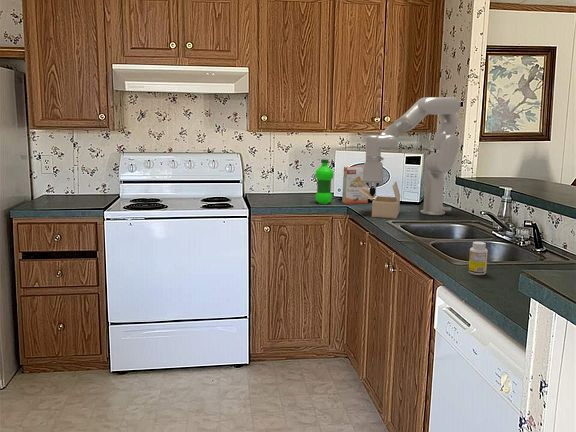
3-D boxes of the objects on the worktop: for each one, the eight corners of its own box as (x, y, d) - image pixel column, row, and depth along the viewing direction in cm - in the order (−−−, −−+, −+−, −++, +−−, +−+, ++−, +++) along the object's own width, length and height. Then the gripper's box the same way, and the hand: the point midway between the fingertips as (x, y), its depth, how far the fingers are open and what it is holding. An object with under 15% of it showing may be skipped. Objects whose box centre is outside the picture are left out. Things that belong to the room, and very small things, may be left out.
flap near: (399, 196, 306) (400, 196, 306) (396, 201, 289) (397, 201, 289) (395, 181, 306) (396, 181, 306) (392, 185, 288) (393, 185, 288)
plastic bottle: (311, 202, 338) (313, 158, 334) (329, 201, 341) (330, 158, 337) (317, 204, 329) (318, 160, 324) (335, 204, 332) (336, 160, 327)
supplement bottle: (474, 270, 195) (476, 240, 194) (489, 273, 191) (491, 243, 189) (464, 272, 192) (466, 242, 190) (479, 276, 188) (482, 245, 186)
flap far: (372, 199, 292) (371, 200, 292) (376, 194, 309) (375, 195, 309) (358, 190, 293) (358, 191, 293) (363, 186, 310) (363, 187, 310)
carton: (399, 212, 309) (400, 197, 308) (395, 219, 289) (396, 202, 288) (376, 210, 312) (377, 196, 311) (371, 217, 292) (372, 201, 291)
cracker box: (345, 204, 333) (346, 167, 330) (341, 202, 339) (343, 166, 336) (368, 203, 337) (370, 167, 334) (364, 202, 343) (365, 166, 339)
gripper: (388, 159, 299) (387, 194, 302) (359, 159, 303) (358, 194, 306) (387, 160, 292) (386, 196, 295) (357, 160, 295) (357, 196, 299)
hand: (372, 195), depth 300 cm, fingers closed
